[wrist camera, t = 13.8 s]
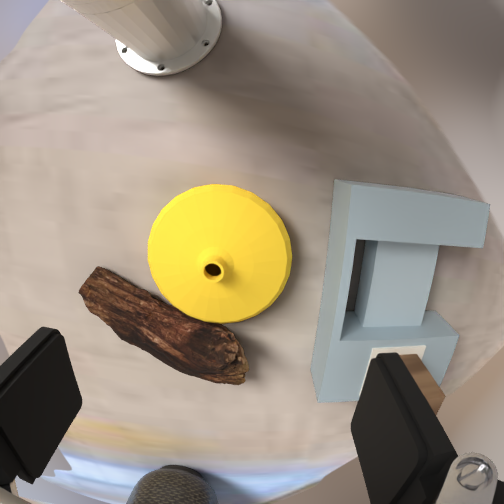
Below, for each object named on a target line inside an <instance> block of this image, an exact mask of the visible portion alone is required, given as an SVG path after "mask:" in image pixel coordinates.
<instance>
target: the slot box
mask: <svg viewBox="0 0 504 504" xmlns="http://www.w3.org/2000/svg"><path fill="white" fill-rule="evenodd" d="M489 209H490V204H488V203H484V202H481V201H477V200H474V199H470V198H467V197H463V196H459V195H454V194H448V193H442V192H436V191H429V190H422V189H415V188H408V187H400V186H393V185H385V184H376V183H367V182H358V181H348V180H338V179H334V189H333V201H332V213H331V223H330V233H329V242H328V252H327V260H326V269H325V277H324V284H323V292H322V299H321V306H320V313H319V320H318V327H317V333H316V339H315V345H314V351H313V357H312V363H311V373H312V378H313V383H314V387H315V392H316V397H317V401H318V403H321V402H346V401H358V400H359V397H360V394H361V391H362V388H363V384H364V381H365V378H366V374H367V371H368V367H369V364H370V361H371V359H372V358H376V356H377V354H379V353H392V352H396V353H398V354H399V355H405V354H417V355H418V356H419V358H420V359H421V361H422V362H423V364H424V365H425V366H426V368H427V369H428V371H429V372H430V374H431V375H432V377H433V378H434V380H435V381H436V383H437V384H438V386H439V387H440V385H441V382H442V380H443V378H444V375H445V373H446V370H447V368H448V365H449V363H450V360H451V358H452V355H453V352H454V350H455V347H456V344H457V341H458V338H459V334H458V333H457V332H456V331H455V330H454V329H453V328H452V327H451V326H450V325H449V324H448V323H447V322H446V321H445V320H444V319H443V318H442V317H441V316H440V315H439V314H438V313H437V312H436V311H425V308H426V305H427V301H428V297H429V293H430V288H431V284H432V280H433V275H434V270H435V266H436V261H437V256H438V250H439V245H447V246H460V247H473V248H483V245H484V240H485V235H486V229H487V223H488V216H489ZM356 239H361V240H366V241H365V248H364V255H363V262H362V268H361V275H360V281H359V287H358V293H357V298H356V304H355V309H354V311H345V310H346V304H347V299H348V293H349V286H350V280H351V274H352V267H353V260H354V253H355V245H356Z"/></svg>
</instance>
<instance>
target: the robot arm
mask: <svg viewBox="0 0 504 504" xmlns="http://www.w3.org/2000/svg"><path fill="white" fill-rule="evenodd" d="M60 1H61V2H63V3H64V4H66V5H68V6H69V7H71V8H72V9H74V10H75V11H76V12H78V13H79V14H81V15H82V16H84V17H85V18H87V19H88V20H89V21H91V22H92V23H94V24H95V25H97V26H98V27H99V28H101V29H102V30H104V31H105V32H107V33H108V34H109V35H111V36H112V37H113V38H115V39H116V46H117V50H118V52H119V55H120V57H121V58H122V59H123V60H124V62H125V63H126V64H128V65H129V66H130V67H131V68H133V69H135V70H136V71H138V72H141V73H144V74H147V75H154V76H163V75H170V74H175V73H178V72H181V71H184V70H186V69H188V68H190V67H192V66H194V65H195V64H197V63H198V62H199V61H201V60H202V59H203V58H204V57H205V56H206V55H207V54H208V53H209V52H210V51H211V50H212V48H213V47H214V45H215V44H216V42H217V40H218V38H219V36H220V33H221V28H222V15H221V11H220V8H219V6H218V3H217V1H216V0H60ZM209 5H211V6H209ZM205 44H209V45H208V46H205ZM126 51H127V52H126ZM163 67H165V69H164V70H162V68H163ZM81 406H82V397H81V394H80V391H79V388H78V385H77V381H76V378H75V375H74V372H73V368H72V365H71V362H70V358H69V354H68V351H67V347H66V343H65V339H64V337H63V336H62V335H61V334H60V332H59V331H58V330H57V329H52V328H47V327H41V328H40V329H38V330H37V331H36V332H35V333H34V334H33V335H32V336H31V337H30V338H29V339H28V340H27V341H26V342H25V343H23V344H22V345H21V346H20V347H19V348H18V349H17V350H16V351H15V352H14V353H13V354H12V355H11V356H10V357H9V358H8V359H7V360H6V361H5V362H4V363H3V364H2V365H1V366H0V504H31V503H29V502H27V501H25V500H23V499H21V498H19V495H18V492H17V487H16V483H15V477H16V476H17V475H18V477H19V478H20V479H22V480H24V481H26V482H28V483H30V484H33V483H34V481H35V479H36V478H39V477H40V476H41V475H42V473H43V471H44V469H45V468H46V466H47V464H48V462H49V461H50V459H51V457H52V455H53V454H54V452H55V450H56V449H57V447H58V445H59V443H60V442H61V440H62V438H63V437H64V435H65V433H66V432H67V430H68V428H69V427H70V425H71V423H72V422H73V420H74V418H75V417H76V415H77V413H78V412H79V410H80V409H81ZM351 432H352V436H353V440H354V443H355V447H356V450H357V454H358V457H359V461H360V465H361V468H362V472H363V476H364V479H365V483H366V487H367V490H368V495H369V498H370V503H371V504H504V482H502V481H500V480H498V479H497V478H498V472H497V469H496V466H495V465H494V463H493V462H492V461H491V460H490V459H489V458H487V457H486V456H484V455H482V454H479V453H465V454H463V455H460V456H458V455H457V453H456V451H455V449H454V447H453V446H452V444H451V442H450V440H449V438H448V436H447V435H446V433H445V431H444V429H443V427H442V426H441V424H440V422H439V420H438V419H437V417H436V415H435V413H434V411H433V410H432V408H431V406H430V405H429V403H428V401H427V399H426V398H425V396H424V395H423V393H422V392H421V390H420V388H419V387H418V385H417V383H416V382H415V380H414V378H413V377H412V375H411V373H410V372H409V370H408V368H407V367H406V365H405V364H404V362H403V360H402V359H401V357H400V356H399V354H398V353H396V352H392V353H379V354H377V356H376V358H372V359H371V361H370V364H369V367H368V371H367V374H366V378H365V381H364V384H363V388H362V391H361V394H360V397H359V400H358V403H357V406H356V409H355V412H354V415H353V418H352V422H351Z"/></svg>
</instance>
